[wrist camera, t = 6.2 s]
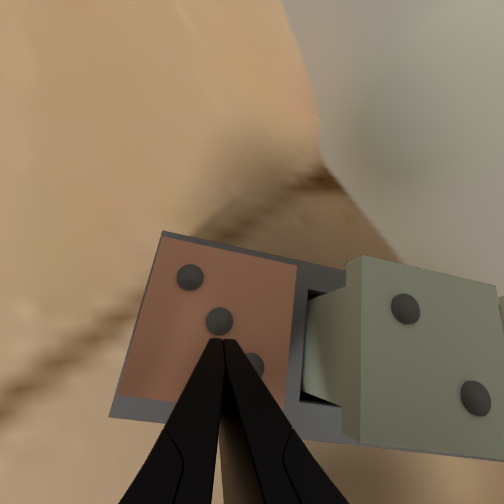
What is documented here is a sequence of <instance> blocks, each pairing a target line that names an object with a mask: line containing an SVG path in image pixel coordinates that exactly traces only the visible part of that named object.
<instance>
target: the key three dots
mask: <svg viewBox="0 0 504 504" xmlns="http://www.w3.org/2000/svg"><path fill="white" fill-rule="evenodd" d="M296 272H297V266H296V265H292V264H287V263H283V262H278V261H273V260H269V259H264V258H260V257H255V256H250V255H246V254H241V253H237V252H232V251H228V250H223V249H218V248H214V247H209V246H205V245H200V244H195V243H191V242H186V241H182V240H177V239H173V238H168V237H163V236H162V239H161V243H160V246H159V250H158V253H157V257H156V260H155V264H154V267H153V271H152V274H151V278H150V281H149V285H148V288H147V292H146V295H145V299H144V302H143V305H142V309H141V312H140V316H139V319H138V323H137V326H136V330H135V333H134V337H133V340H132V344H131V347H130V351H129V354H128V358H127V361H126V365H125V368H124V372H123V375H122V378H121V382H120V385H119V389H118V392H117V395H121V396H129V397H137V398H145V399H153V400H161V401H168V402H176V403H177V401H178V399H179V397H180V395H181V393H182V391H183V389H184V387H185V385H186V383H187V381H188V379H189V377H190V375H191V374H192V372H193V370H194V368H195V366H196V364H197V362H198V360H199V358H200V356H201V354H202V352H203V350H204V348H205V346H206V344H207V343H208V341H209V339H210V338H222V340H223V339H225V338H227V339H235V340H236V341H237V342H238V344H239V345H240V347H241V348H242V350H243V351H244V353H245V354H246V356H247V357H248V359H249V360H250V362H251V363H252V365H253V367H254V368H255V370H256V371H257V373H258V374H259V376H260V377H261V379H262V380H263V382H264V383H265V385H266V386H267V388H268V390H269V391H270V393H271V394H272V396H273V397H274V399H275V400H276V402H277V403H278V405H279V406H280V408H281V409H282V411H283V408H284V397H285V387H286V376H287V366H288V355H289V345H290V334H291V324H292V314H293V303H294V293H295V282H296Z"/></svg>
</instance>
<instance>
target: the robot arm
mask: <svg viewBox="0 0 504 504" xmlns="http://www.w3.org/2000/svg"><path fill="white" fill-rule="evenodd" d="M218 435H219V447H220V459H221V472H222V485H223V498H224V504H349V502H348V501H347V500H346V499H345V497H344V496H343V495H342V494H341V492H340V491H339V490H338V489H337V487H336V486H335V485H334V484H333V482H332V481H331V480H330V479H329V477H328V476H327V475H326V473H325V472H324V471H323V469H322V468H321V467H320V465H319V464H318V463H317V461H316V460H315V459H314V457H313V456H312V454H311V453H310V452H309V450H308V449H307V447H306V446H305V444H304V443H303V441H302V440H301V438H300V437H299V435H298V434H297V432H296V431H295V429H292V425H291V423H290V422H289V420H288V419H287V417H286V416H285V414H284V412H283V411H282V409H281V408H280V406H279V405H278V403H277V402H276V400H275V399H274V397H273V396H272V394H271V393H270V391H269V390H268V388H267V386H266V385H265V383H264V382H263V380H262V379H261V377H260V376H259V374H258V373H257V371H256V370H255V368H254V367H253V365H252V363H251V362H250V360H249V359H248V357H247V356H246V354H245V353H244V351H243V350H242V348H241V347H240V345H239V344H238V342H237V341H236V340H235V339H227V338H225V339H223V340H222V338H210V339H209V341H208V343H207V344H206V346H205V348H204V350H203V352H202V354H201V356H200V358H199V360H198V362H197V364H196V366H195V368H194V370H193V372H192V374H191V375H190V377H189V379H188V381H187V383H186V385H185V387H184V389H183V391H182V393H181V395H180V397H179V399H178V401H177V403H176V405H175V406H174V408H173V410H172V412H171V414H170V416H169V418H168V420H167V422H166V424H165V426H164V429H163V430H162V431H161V433H160V435H159V437H158V439H157V441H156V443H155V445H154V446H153V448H152V450H151V452H150V454H149V455H148V457H147V459H146V461H145V463H144V464H143V466H142V468H141V469H140V471H139V472H138V474H137V476H136V477H135V479H134V480H133V482H132V483H131V485H130V487H129V488H128V490H127V491H126V493H125V494H124V496H123V497H122V499H121V500H120V502H119V503H118V504H211V501H212V492H213V482H214V473H215V464H216V454H217V445H218Z"/></svg>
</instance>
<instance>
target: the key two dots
mask: <svg viewBox="0 0 504 504" xmlns="http://www.w3.org/2000/svg"><path fill="white" fill-rule="evenodd" d="M300 390H301V391H303V392H306V393H309V394H311V395H314V396H316V397H319V398H321V399H324V400H326V401H329V402H332V403H334V404H337V405H339V406H342V427H341V433H343V434H344V435H346V436H348V437H350V438H351V439H353V440H355V441H357V442H359V443H361V444H370V445H378V446H387V447H396V448H404V449H413V450H422V451H430V452H439V453H448V454H457V455H465V456H474V457H483V458H491V459H500V460H504V334H503V328H502V322H501V316H500V310H499V304H498V298H497V292H496V287H495V286H494V285H490V284H485V283H481V282H476V281H473V280H468V279H464V278H460V277H455V276H451V275H447V274H442V273H438V272H434V271H430V270H426V269H421V268H417V267H413V266H408V265H404V264H400V263H396V262H391V261H387V260H383V259H379V258H374V257H370V256H366V255H360V256H358V257H356V258H354V259H352V260H350V261H349V262H347V263H346V286H345V287H343V288H340V289H337V290H335V291H332V292H329V293H327V294H324V295H321V296H319V297H316V298H313V299H311V300H308V301H307V308H306V321H305V333H304V346H303V359H302V372H301V384H300Z"/></svg>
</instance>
